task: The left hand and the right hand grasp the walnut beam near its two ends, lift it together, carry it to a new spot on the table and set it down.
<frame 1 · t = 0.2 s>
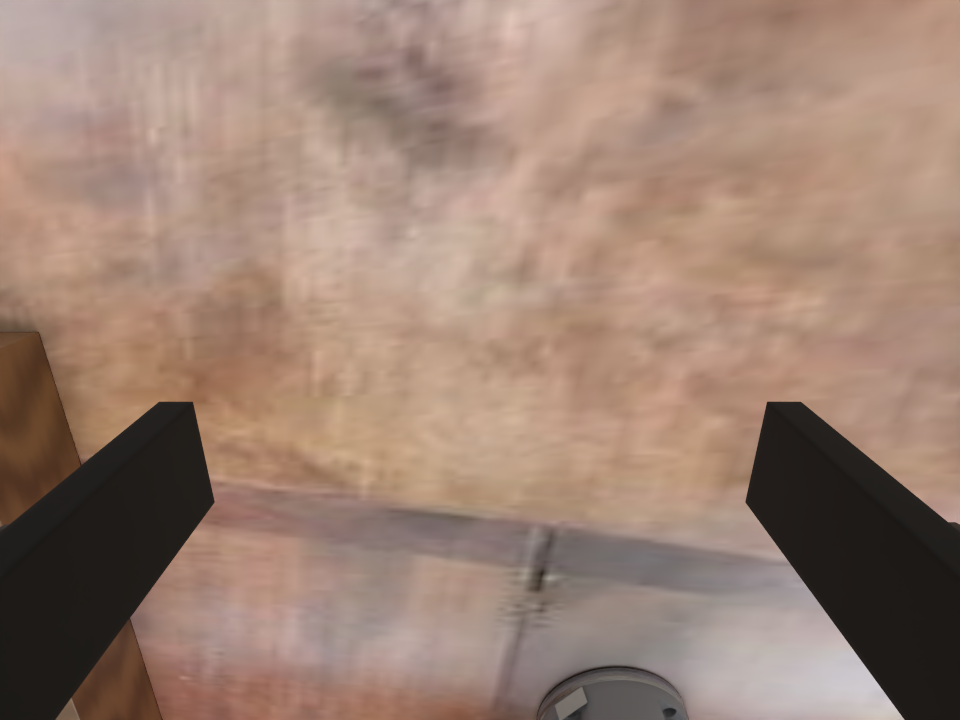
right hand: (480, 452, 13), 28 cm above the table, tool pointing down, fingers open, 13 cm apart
beam: (124, 679, 55), on the table
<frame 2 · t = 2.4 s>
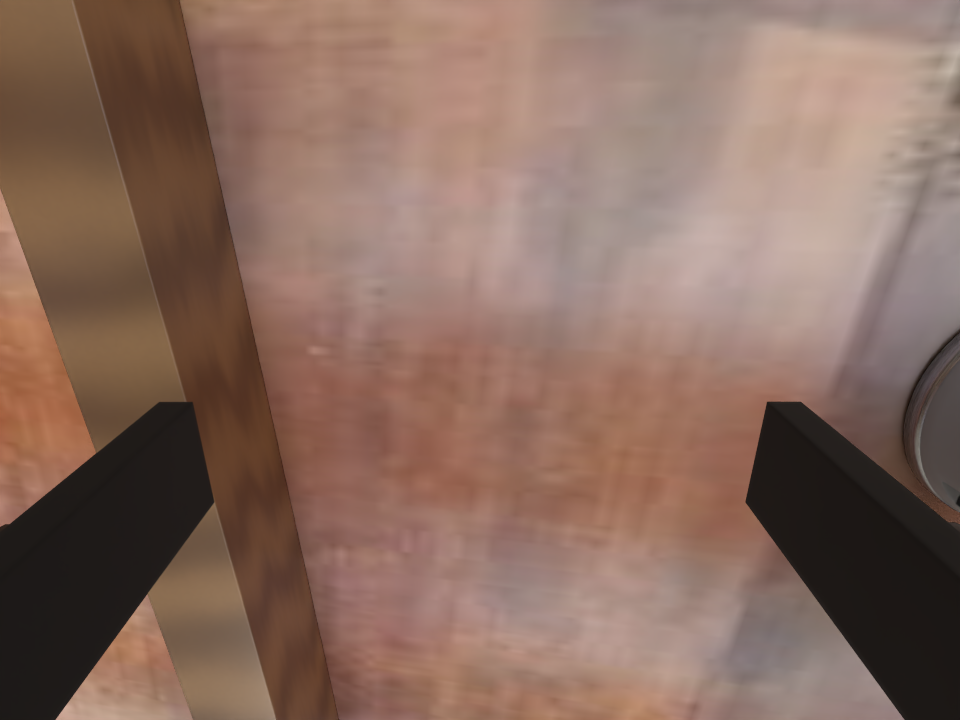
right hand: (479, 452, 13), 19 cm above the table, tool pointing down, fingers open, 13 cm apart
beam: (217, 358, 33), on the table, touching left hand
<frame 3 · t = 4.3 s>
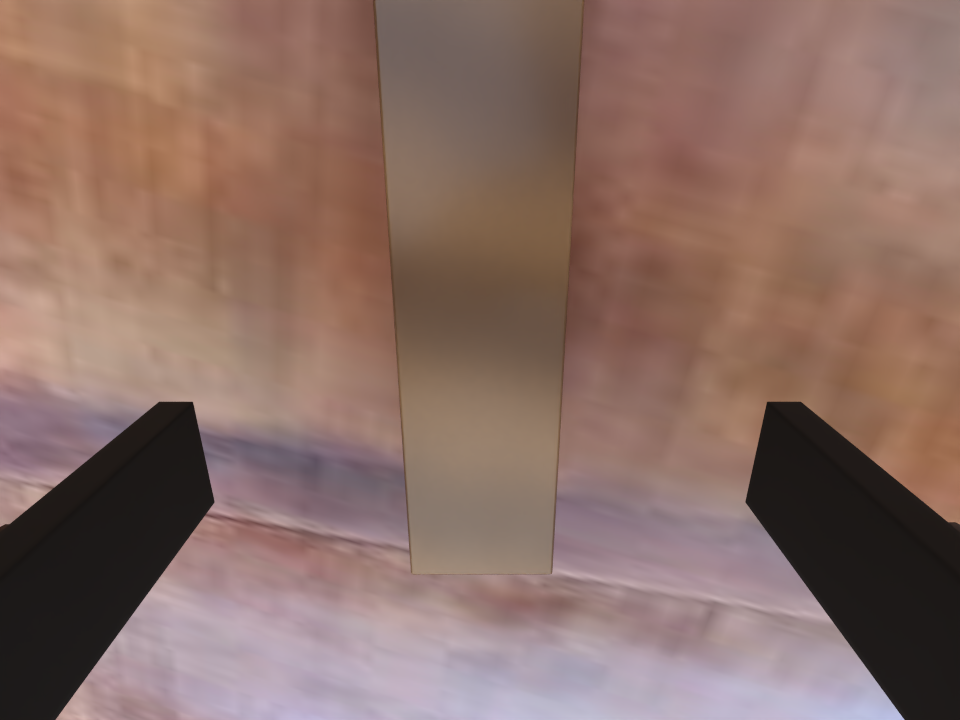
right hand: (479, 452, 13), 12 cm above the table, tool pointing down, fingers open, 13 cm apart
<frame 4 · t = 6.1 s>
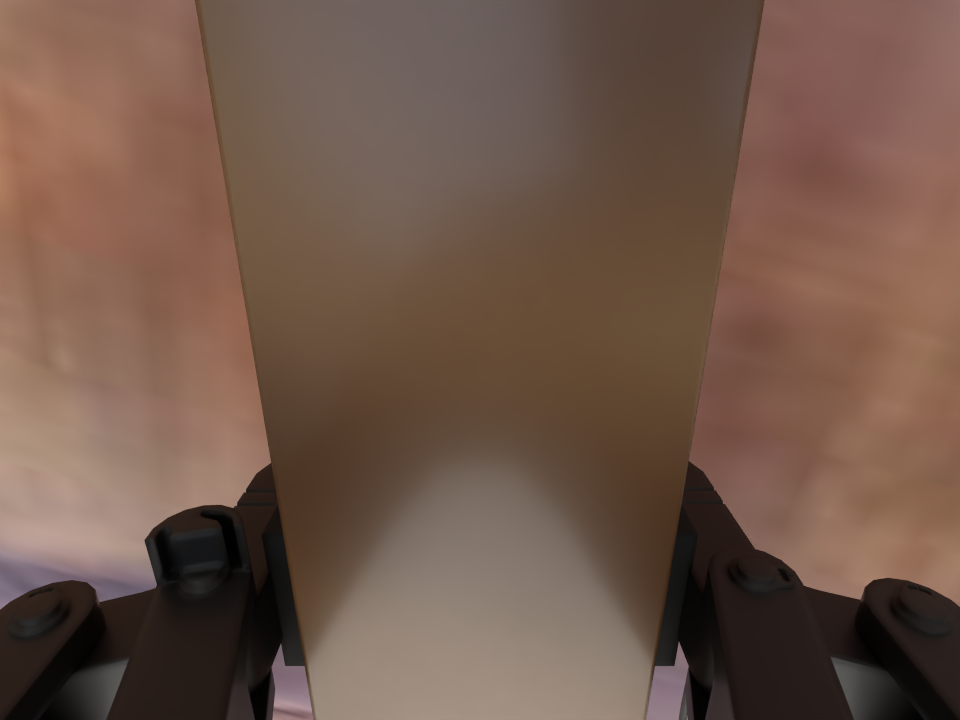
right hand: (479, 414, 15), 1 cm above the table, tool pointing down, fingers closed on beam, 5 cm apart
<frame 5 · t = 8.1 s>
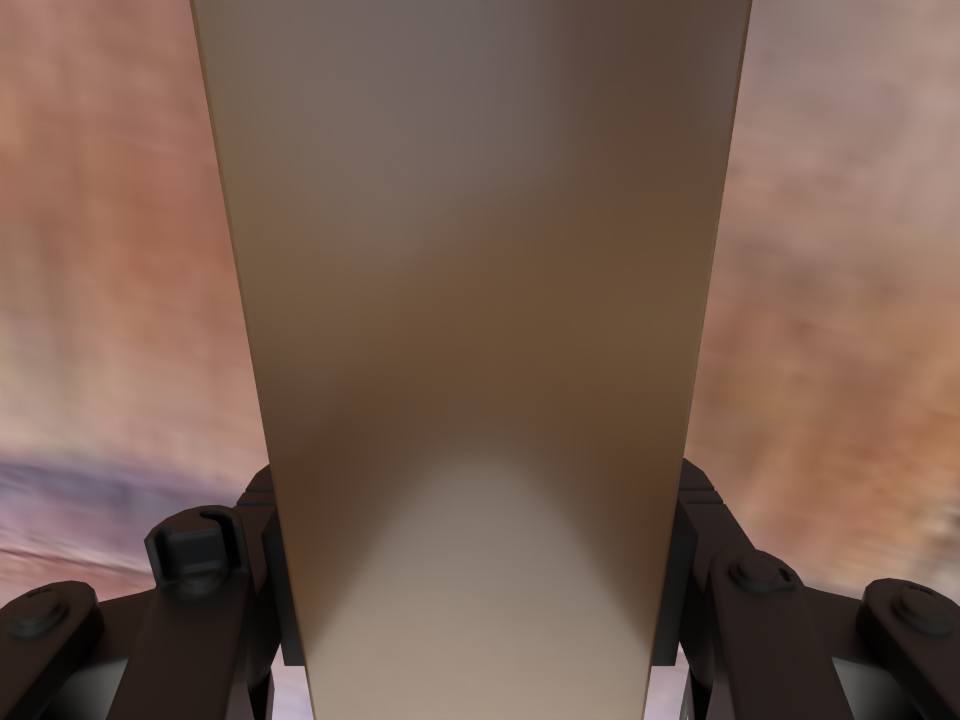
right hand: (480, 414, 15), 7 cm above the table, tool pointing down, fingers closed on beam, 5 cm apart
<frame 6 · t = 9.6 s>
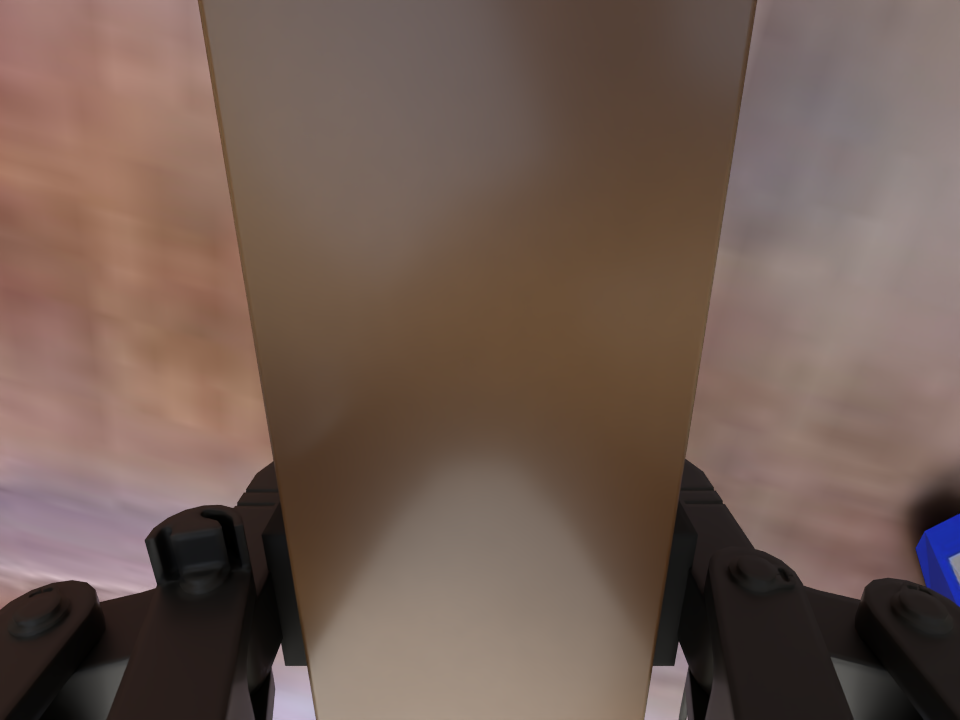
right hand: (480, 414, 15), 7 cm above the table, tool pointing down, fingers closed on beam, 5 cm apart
when the right hand's fingers open (2 cm above the table, at t = 10.5 s): beam stays where it is, on the table.
when the left hand's fingers open (4 cm above the table, at t = 10.7 s): beam stays where it is, on the table.
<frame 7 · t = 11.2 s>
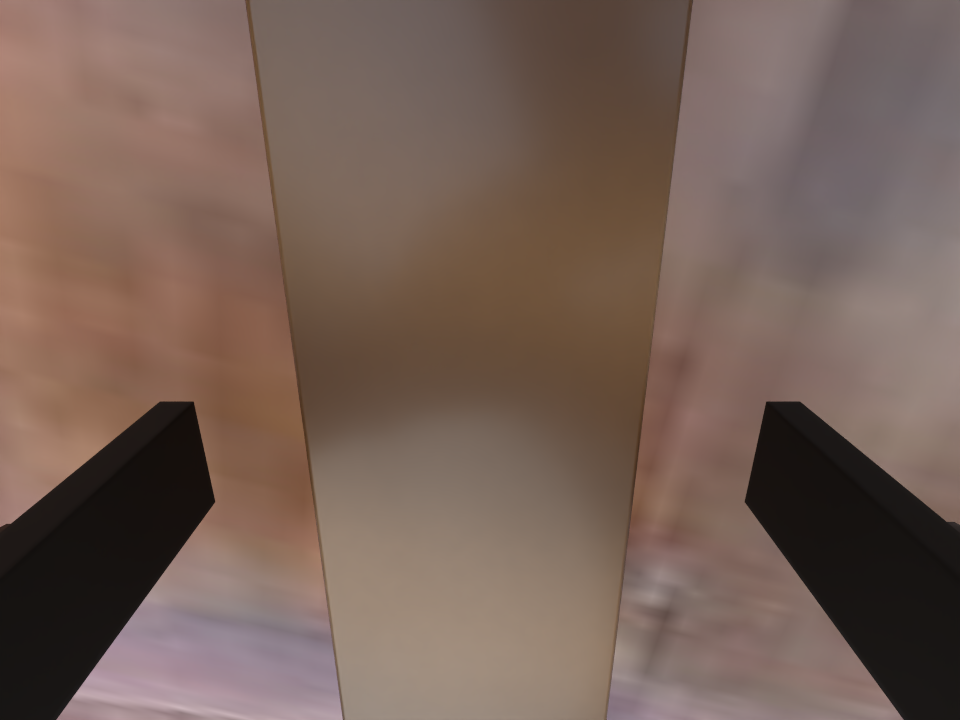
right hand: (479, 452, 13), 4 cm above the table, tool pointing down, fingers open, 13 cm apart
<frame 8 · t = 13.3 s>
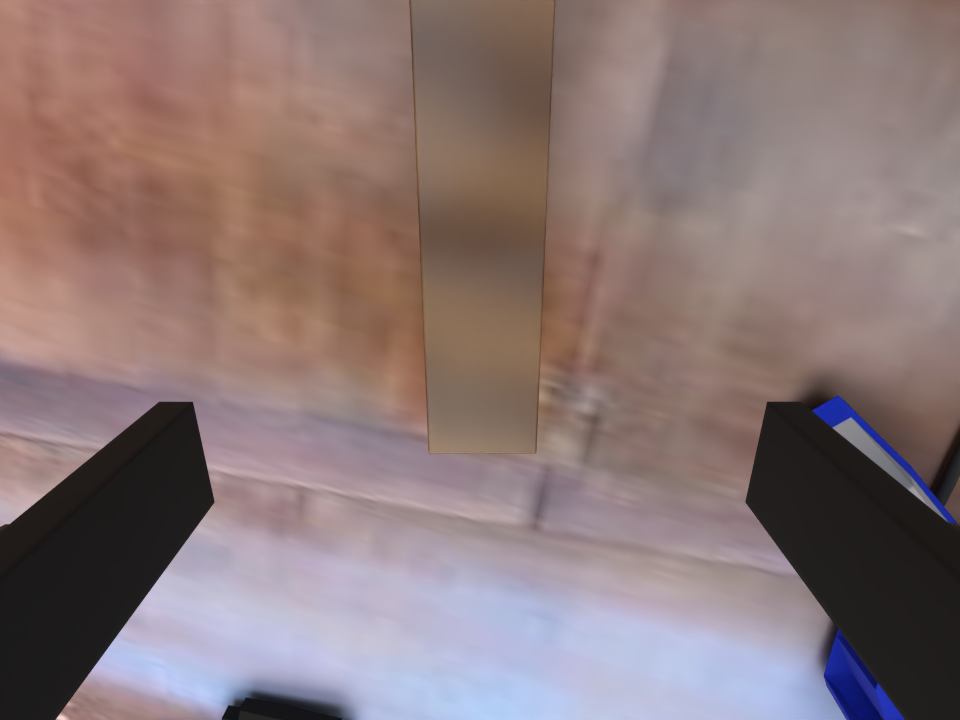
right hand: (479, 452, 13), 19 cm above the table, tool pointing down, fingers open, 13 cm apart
toy spaceship: (904, 565, 38), on the table
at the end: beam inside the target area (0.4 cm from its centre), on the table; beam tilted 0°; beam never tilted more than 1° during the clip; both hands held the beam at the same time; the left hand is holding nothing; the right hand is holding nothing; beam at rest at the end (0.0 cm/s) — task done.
